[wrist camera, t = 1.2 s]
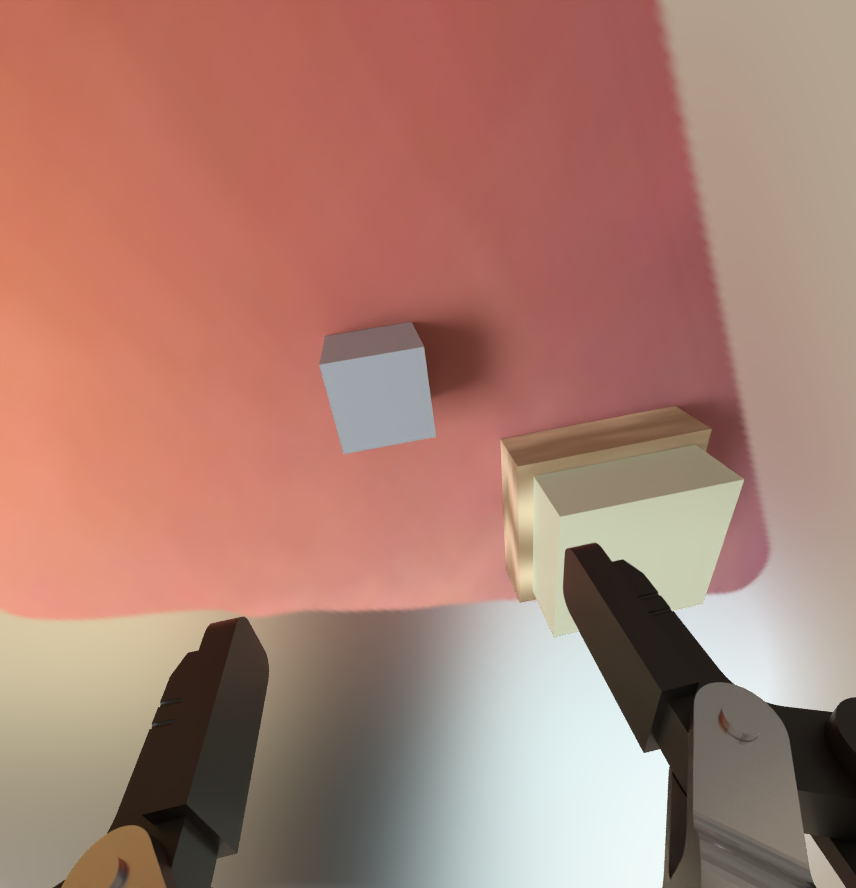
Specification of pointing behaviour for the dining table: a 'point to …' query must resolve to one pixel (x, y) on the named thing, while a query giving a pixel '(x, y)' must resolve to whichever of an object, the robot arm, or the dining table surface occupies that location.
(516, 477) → the base block
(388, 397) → the slate cube
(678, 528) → the top block
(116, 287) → the dining table surface
